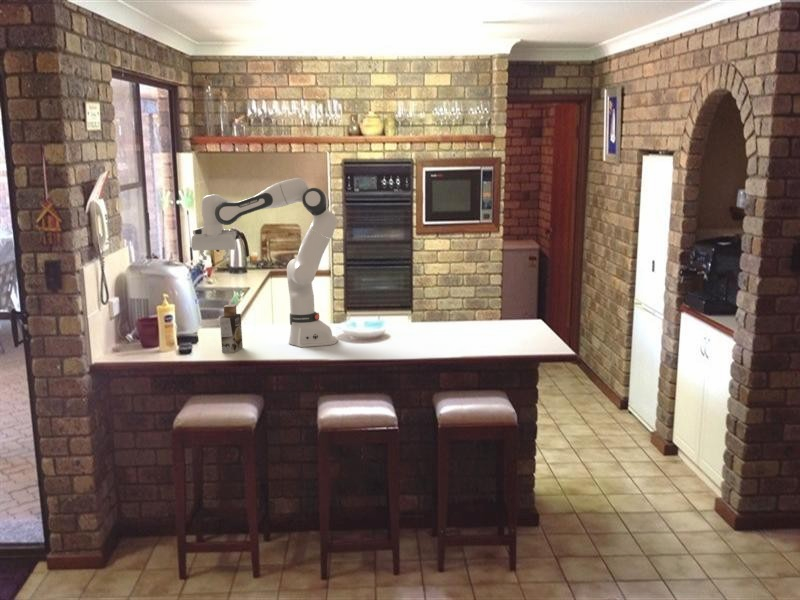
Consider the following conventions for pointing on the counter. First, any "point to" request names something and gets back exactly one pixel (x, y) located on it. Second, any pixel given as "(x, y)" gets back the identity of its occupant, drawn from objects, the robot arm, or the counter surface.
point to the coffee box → (231, 333)
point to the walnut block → (229, 310)
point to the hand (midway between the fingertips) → (215, 259)
